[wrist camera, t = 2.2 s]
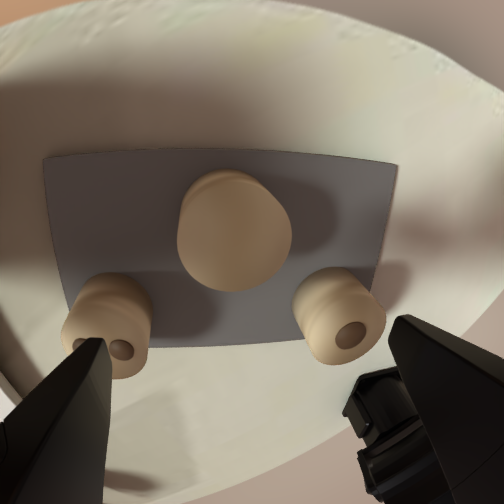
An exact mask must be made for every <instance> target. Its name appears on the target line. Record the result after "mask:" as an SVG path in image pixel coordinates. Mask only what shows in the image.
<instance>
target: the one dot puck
mask: <svg viewBox="0 0 504 504" xmlns="http://www.w3.org/2000/svg"><path fill="white" fill-rule="evenodd" d="M291 306H292V312H293V315H294V317H295V319H296V321H297V323H298V325H299V327H300V329H301V331H302V333H303V335H304V337H305V340H306V342H307V344H308V346H309V348H310V350H311V352H312V354H313V356H314V357H315V358H316V359H317V360H318V361H319V362H321V363H323V364H327V365H341V364H345V363H348V362H351V361H353V360H356V359H357V358H359V357H361V356H362V355H364V354H365V353H367V352H368V351H369V350H370V349H371V348H372V347H373V346H374V345H375V344H376V343H377V342H378V340H379V339H380V337H381V335H382V333H383V331H384V329H385V325H386V314H385V311H384V309H383V307H382V306H381V305H380V304H379V303H378V302H377V300H376V299H375V298H374V297H373V296H372V295H371V294H370V293H369V291H368V290H367V289H366V288H365V287H364V286H363V285H362V284H361V283H360V281H359V280H358V279H357V278H356V277H355V276H354V275H353V274H352V273H351V272H350V271H349V270H347V269H345V268H342V267H326V268H322V269H320V270H317V271H315V272H313V273H312V274H310V275H309V276H308V277H306V278H305V279H304V280H303V281H302V282H301V283H300V285H299V286H298V287H297V289H296V291H295V293H294V295H293V298H292V305H291Z"/></svg>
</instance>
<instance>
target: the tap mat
mask: <svg viewBox="0 0 504 504" xmlns="http://www.w3.org/2000/svg"><path fill="white" fill-rule="evenodd" d="M227 168H229V169H237V170H241V171H243V172H246V173H248V174H250V175H252V176H253V177H254V178H256V179H257V180H258V181H259V182H260V183H261V184H262V185H263V186H264V187H265V188H266V189H267V190H268V191H269V192H270V193H271V194H272V195H273V196H274V197H275V199H276V200H277V201H278V202H279V203H280V204H281V205H282V207H283V208H284V210H285V211H286V213H287V215H288V218H289V220H290V224H291V230H292V241H291V247H290V250H289V253H288V256H287V258H286V260H285V262H284V263H283V265H282V266H281V268H280V269H279V270H278V271H277V272H276V273H275V274H274V275H273V276H272V277H271V278H270V279H268V280H267V281H266V282H264V283H262V284H261V285H258V286H256V287H254V288H251V289H248V290H243V291H236V292H226V291H219V290H215V289H212V288H209V287H207V286H205V285H203V284H201V283H200V282H198V281H197V280H195V279H194V278H193V277H192V276H191V275H190V274H189V273H188V271H187V270H186V269H185V267H184V265H183V264H182V262H181V259H180V257H179V253H178V248H177V233H178V225H179V217H180V209H181V204H182V200H183V197H184V195H185V193H186V191H187V190H188V188H189V187H190V186H191V185H192V183H193V182H194V181H196V180H197V179H198V178H199V177H201V176H202V175H204V174H206V173H208V172H210V171H214V170H218V169H227ZM43 169H44V181H45V191H46V200H47V208H48V215H49V222H50V228H51V234H52V240H53V245H54V250H55V255H56V260H57V265H58V269H59V273H60V278H61V282H62V286H63V290H64V294H65V297H66V301H67V305H68V308H69V312H70V310H71V308H72V306H73V304H74V302H75V300H76V298H77V296H78V295H79V293H80V291H81V289H82V287H83V285H84V284H85V282H86V281H87V280H88V279H90V278H91V277H93V276H94V275H97V274H100V273H105V272H114V273H120V274H123V275H126V276H128V277H130V278H132V279H134V280H135V281H137V282H138V283H139V284H140V285H141V286H142V287H143V288H144V289H145V290H146V291H147V293H148V294H149V296H150V298H151V301H152V305H153V316H152V323H151V331H150V338H149V346H148V348H167V347H206V346H227V345H243V344H257V343H270V342H281V341H291V340H301V339H305V337H304V335H303V333H302V331H301V329H300V327H299V325H298V323H297V321H296V319H295V317H294V315H293V312H292V306H291V305H292V298H293V295H294V293H295V291H296V289H297V287H298V286H299V285H300V283H301V282H302V281H303V280H304V279H305V278H306V277H308V276H309V275H310V274H312V273H313V272H315V271H317V270H320V269H322V268H326V267H342V268H345V269H347V270H349V271H350V272H351V273H352V274H353V275H354V276H355V277H356V278H357V279H358V280H359V281H360V283H361V284H362V285H363V286H364V287H365V288H366V289H367V290H368V291H370V288H371V284H372V280H373V277H374V273H375V269H376V265H377V261H378V257H379V253H380V249H381V244H382V240H383V235H384V231H385V226H386V221H387V216H388V211H389V206H390V201H391V195H392V190H393V184H394V178H395V171H396V165H394V164H391V163H385V162H378V161H371V160H364V159H357V158H349V157H340V156H331V155H322V154H311V153H300V152H286V151H271V150H252V149H219V148H175V149H143V150H124V151H109V152H97V153H86V154H76V155H67V156H59V157H51V158H46V159H43Z"/></svg>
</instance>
